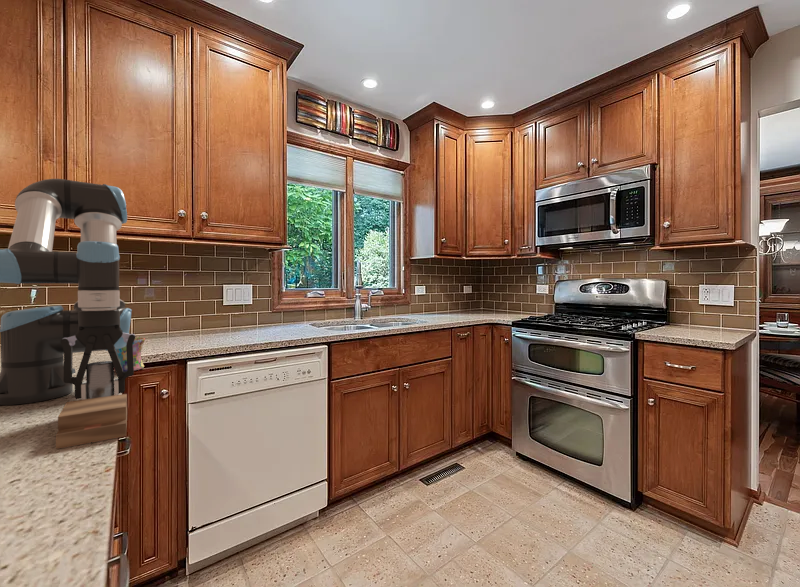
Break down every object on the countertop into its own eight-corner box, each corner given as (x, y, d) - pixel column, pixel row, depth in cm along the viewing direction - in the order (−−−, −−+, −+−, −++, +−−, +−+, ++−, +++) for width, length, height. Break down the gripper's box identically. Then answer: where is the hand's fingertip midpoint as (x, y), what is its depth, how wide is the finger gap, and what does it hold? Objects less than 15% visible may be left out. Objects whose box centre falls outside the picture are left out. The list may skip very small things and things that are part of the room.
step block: (67, 425, 77) (66, 401, 77) (127, 416, 83) (126, 393, 83) (56, 449, 66) (55, 421, 66) (126, 436, 72) (125, 410, 72)
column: (87, 409, 87) (86, 362, 87) (115, 405, 90) (114, 360, 90) (85, 416, 83) (84, 366, 83) (114, 411, 86) (113, 363, 86)
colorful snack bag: (111, 369, 129) (110, 339, 129) (143, 366, 135) (143, 336, 135) (113, 376, 120) (113, 343, 119) (148, 372, 126) (148, 340, 125)
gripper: (42, 311, 78) (44, 422, 78) (147, 308, 89) (148, 406, 89) (48, 309, 84) (50, 412, 85) (146, 307, 95) (147, 398, 95)
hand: (100, 409), depth 87 cm, fingers closed on column, 5 cm apart
